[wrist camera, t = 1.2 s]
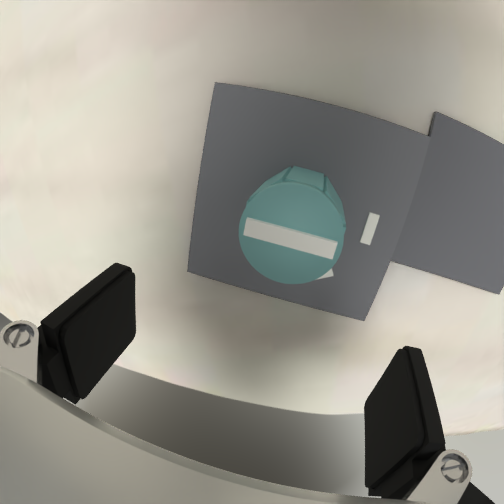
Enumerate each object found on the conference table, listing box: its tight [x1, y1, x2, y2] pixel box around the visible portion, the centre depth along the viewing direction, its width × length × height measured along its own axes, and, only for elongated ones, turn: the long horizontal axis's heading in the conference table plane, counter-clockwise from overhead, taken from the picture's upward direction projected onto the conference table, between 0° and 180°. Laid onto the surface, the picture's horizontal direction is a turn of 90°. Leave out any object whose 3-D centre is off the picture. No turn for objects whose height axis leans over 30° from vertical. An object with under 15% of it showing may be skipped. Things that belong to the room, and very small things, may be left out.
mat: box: [390, 112, 504, 294], centre depth 20 cm, size 12×12×1 cm
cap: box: [239, 166, 346, 284], centre depth 20 cm, size 6×6×6 cm
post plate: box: [187, 82, 431, 321], centre depth 21 cm, size 16×16×5 cm
